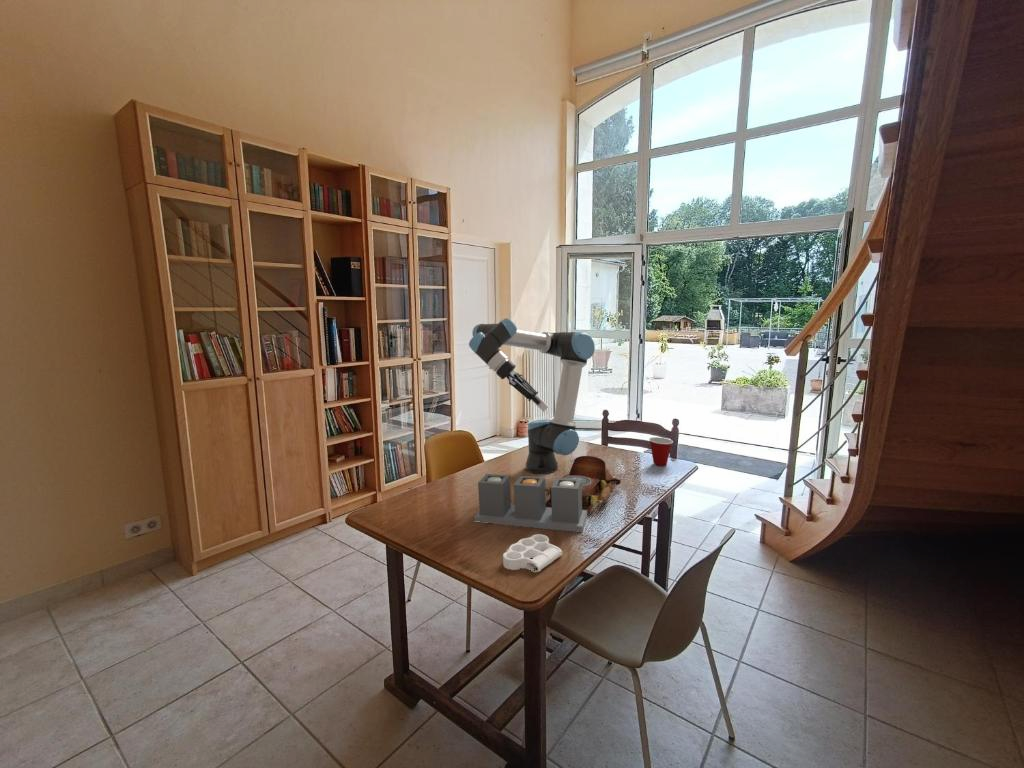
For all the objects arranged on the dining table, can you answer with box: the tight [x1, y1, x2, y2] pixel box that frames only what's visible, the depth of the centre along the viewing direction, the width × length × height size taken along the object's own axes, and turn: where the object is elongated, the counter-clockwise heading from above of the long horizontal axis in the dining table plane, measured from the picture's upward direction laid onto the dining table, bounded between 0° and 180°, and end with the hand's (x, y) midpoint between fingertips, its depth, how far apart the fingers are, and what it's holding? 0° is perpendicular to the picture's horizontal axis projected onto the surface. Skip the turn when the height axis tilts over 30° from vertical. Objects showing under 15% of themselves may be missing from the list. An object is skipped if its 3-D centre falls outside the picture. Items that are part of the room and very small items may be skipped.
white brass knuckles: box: [502, 533, 563, 573], centre depth 136 cm, size 3×18×15 cm
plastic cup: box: [648, 436, 674, 467], centre depth 214 cm, size 11×11×12 cm
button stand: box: [473, 473, 588, 533], centre depth 161 cm, size 38×13×14 cm, turn 74°
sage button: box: [487, 477, 501, 482], centre depth 164 cm, size 5×5×4 cm
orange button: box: [523, 479, 537, 485], centre depth 160 cm, size 5×5×4 cm
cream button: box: [559, 481, 574, 487], centre depth 157 cm, size 5×5×4 cm
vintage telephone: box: [545, 455, 621, 514], centre depth 182 cm, size 24×12×40 cm
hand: (546, 409), depth 173 cm, fingers closed
